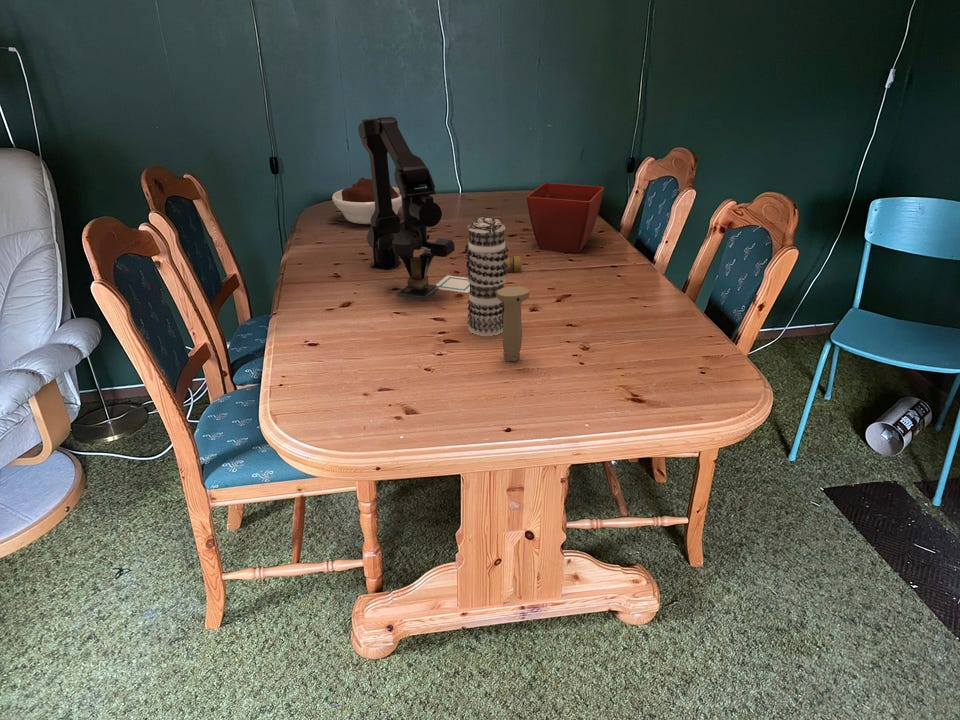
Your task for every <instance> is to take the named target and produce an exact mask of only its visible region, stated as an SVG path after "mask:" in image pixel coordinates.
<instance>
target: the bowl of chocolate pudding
mask: <svg viewBox="0 0 960 720" xmlns="http://www.w3.org/2000/svg"><path fill="white" fill-rule="evenodd" d="M390 189H391V199H392V209H393V211H394V212H395V214H396V215H397V216H398V212H399V210H400V208H402V199H401V198H402V197H401V196H402V195H400V191H399V188H398V187H395V186H392V185H391V183H390ZM331 199H332V202H333V204H334V206H335V207H337V209H338V210H339V211H341V213H342V214H343V216H344V218H345V220H347V221H348V222H351V223H353V224H359V225H371V217H372V215H373V213H374V211H375V202H374V193H373V183H372V178H365V177H360V178H358V180H357V182H356V183H353V184H352V185H351V187H347V188H344V189H340V190H338V191H336V192H334V193H333V194H332V197H331Z"/></svg>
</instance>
